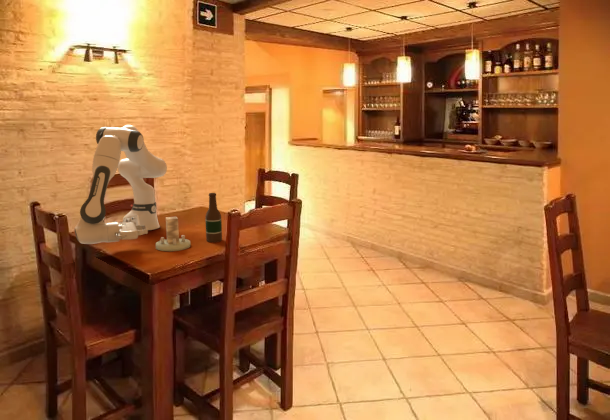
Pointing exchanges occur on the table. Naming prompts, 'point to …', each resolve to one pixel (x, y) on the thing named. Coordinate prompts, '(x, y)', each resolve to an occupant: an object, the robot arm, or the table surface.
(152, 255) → the table surface
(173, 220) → the birch block
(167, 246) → the peg plinth
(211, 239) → the beer bottle
